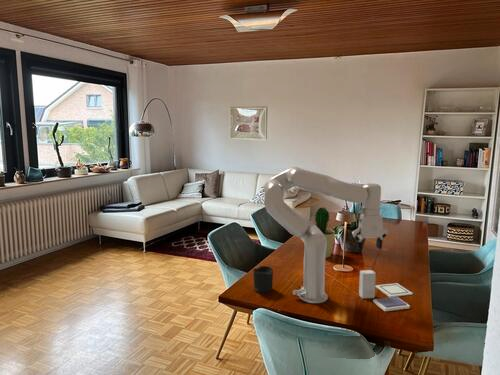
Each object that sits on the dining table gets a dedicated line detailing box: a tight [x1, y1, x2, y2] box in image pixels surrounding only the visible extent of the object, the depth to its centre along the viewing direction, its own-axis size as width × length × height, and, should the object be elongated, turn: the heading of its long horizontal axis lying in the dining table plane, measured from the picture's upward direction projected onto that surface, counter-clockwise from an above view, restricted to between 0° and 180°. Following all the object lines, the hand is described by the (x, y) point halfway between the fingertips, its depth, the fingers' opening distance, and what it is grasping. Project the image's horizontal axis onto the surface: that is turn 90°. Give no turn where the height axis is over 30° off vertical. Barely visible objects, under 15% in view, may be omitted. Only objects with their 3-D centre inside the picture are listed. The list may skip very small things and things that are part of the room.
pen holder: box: [252, 265, 274, 294], centre depth 181 cm, size 9×9×10 cm
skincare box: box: [358, 269, 377, 299], centre depth 172 cm, size 6×4×12 cm
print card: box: [375, 282, 414, 298], centre depth 180 cm, size 12×12×1 cm
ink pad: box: [372, 296, 411, 312], centre depth 165 cm, size 12×9×2 cm
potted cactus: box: [314, 207, 336, 259], centre depth 229 cm, size 15×15×30 cm
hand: (369, 248), depth 170 cm, fingers open, 9 cm apart
